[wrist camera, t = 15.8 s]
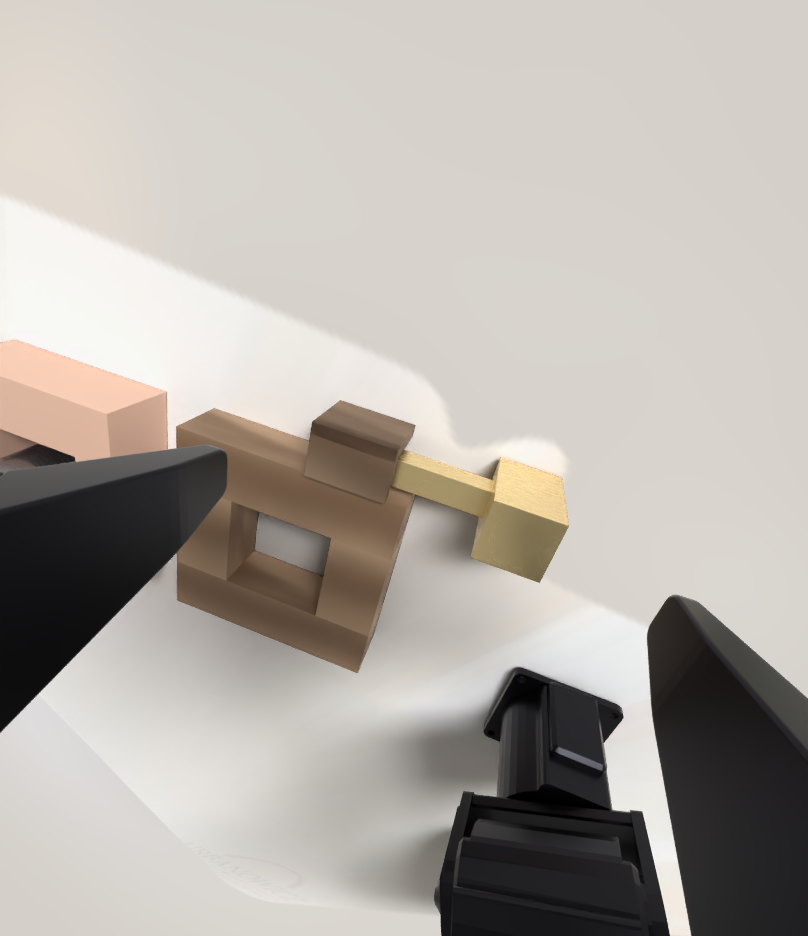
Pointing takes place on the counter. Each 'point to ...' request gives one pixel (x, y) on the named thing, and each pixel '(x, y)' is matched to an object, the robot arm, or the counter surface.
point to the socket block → (308, 506)
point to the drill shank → (34, 458)
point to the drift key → (497, 509)
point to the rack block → (75, 407)
